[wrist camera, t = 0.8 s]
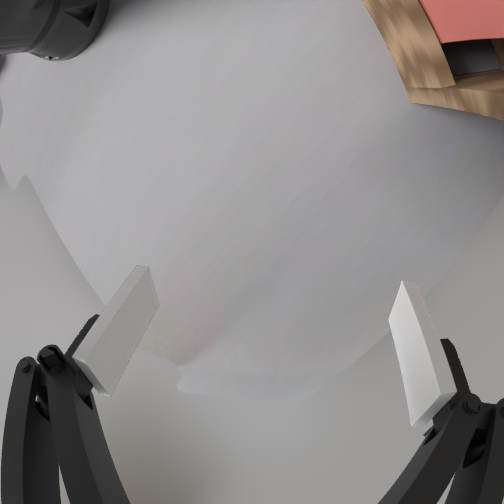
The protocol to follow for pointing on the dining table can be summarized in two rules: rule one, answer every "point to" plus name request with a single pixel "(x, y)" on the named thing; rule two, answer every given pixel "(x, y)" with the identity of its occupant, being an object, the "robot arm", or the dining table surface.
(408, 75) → the wooden box
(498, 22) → the trapdoor
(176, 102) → the dining table surface
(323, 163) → the dining table surface
